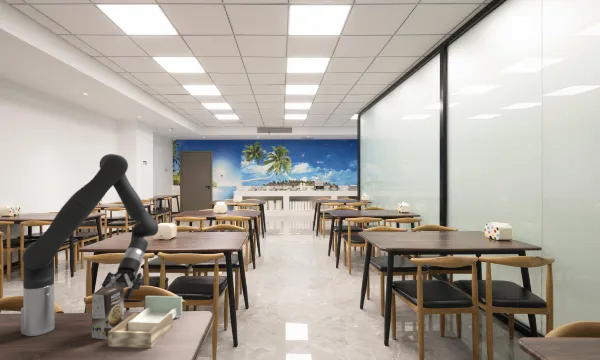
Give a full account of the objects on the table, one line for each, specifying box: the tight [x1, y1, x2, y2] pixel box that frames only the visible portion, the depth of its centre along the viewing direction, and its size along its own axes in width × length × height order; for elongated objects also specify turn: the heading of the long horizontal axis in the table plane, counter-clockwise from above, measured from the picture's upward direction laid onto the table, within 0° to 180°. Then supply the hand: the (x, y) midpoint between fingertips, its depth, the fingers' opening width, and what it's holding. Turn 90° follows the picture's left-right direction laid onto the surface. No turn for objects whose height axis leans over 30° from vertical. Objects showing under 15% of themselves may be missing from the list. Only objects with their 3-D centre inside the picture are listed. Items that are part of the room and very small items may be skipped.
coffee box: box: [91, 286, 125, 340], centre depth 127 cm, size 9×6×16 cm
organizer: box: [107, 312, 174, 349], centre depth 125 cm, size 15×17×5 cm
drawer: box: [128, 295, 183, 331], centre depth 135 cm, size 15×16×7 cm
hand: (115, 298), depth 131 cm, fingers open, 8 cm apart
